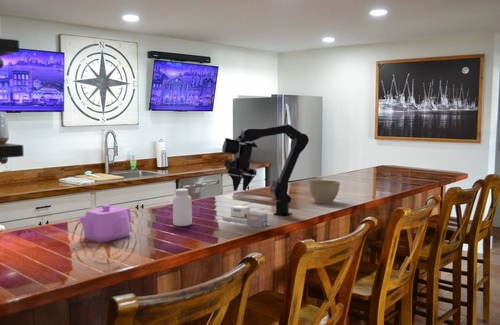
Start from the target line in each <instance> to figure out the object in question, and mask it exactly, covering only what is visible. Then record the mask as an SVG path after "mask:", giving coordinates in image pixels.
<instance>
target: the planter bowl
mask: <svg viewBox="0 0 500 325" xmlns="http://www.w3.org/2000/svg"><path fill="white" fill-rule="evenodd" d="M340 184H341V182H340V181H336V180H324V179H323V180H319V179H318V180H309V181H308V185H309V192H310V194H311V197H312V198H313V199H314V202H315V203H317V204H333V203H334V200H335V199H336V198H337V195H338V193H339V191H340ZM332 202H333V203H332Z"/></svg>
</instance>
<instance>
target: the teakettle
mask: <svg viewBox="0 0 500 325" xmlns="http://www.w3.org/2000/svg"><path fill="white" fill-rule="evenodd" d="M78 220H79V223H80V224H81V225H82V228H83V235H84V237H85V238H84V239H87V240H90V241H94V242H96V243H107V242H109V241H110V242H111V241H115V240H118V239H122V238H125V237H129V236H130V233H131V229H130V228H131V226H130V223H132V215H131V208H129V207H125V208H121V207H117V206H116V207H114V206H111V205H110V204H104V205H101V208H91V209H90V210H87V211H86V212H85V215H84V216H81V217H79V218H78Z"/></svg>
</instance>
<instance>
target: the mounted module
mask: <svg viewBox="0 0 500 325" xmlns="http://www.w3.org/2000/svg"><path fill="white" fill-rule="evenodd" d="M268 215H269V214H268V213H266V212H260V211H259V212H258V211H252V212H251V211H250V213H248V214H246V216H245V219H247V225H252V226H259V227H260V228H262V227H261V226H262V222H263V221H264V222H265V225H266V226H268V225H267V224H269V223H268V220H269V219H268V218H269V217H268ZM252 226H251V227H252ZM259 227H258V228H259Z"/></svg>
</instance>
